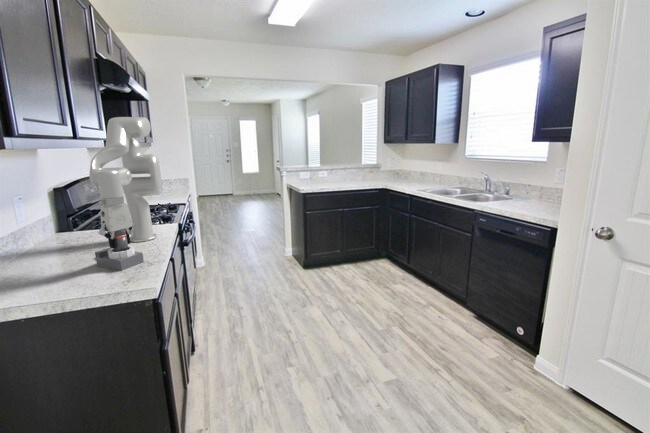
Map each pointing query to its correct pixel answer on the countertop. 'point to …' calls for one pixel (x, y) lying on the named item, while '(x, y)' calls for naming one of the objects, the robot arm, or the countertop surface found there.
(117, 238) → the lens
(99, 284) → the countertop surface
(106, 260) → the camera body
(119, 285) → the countertop surface
